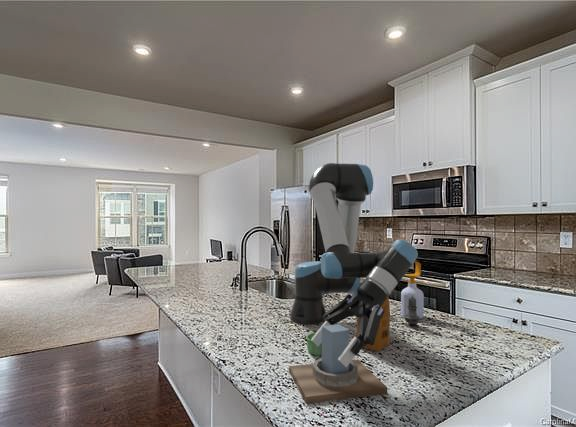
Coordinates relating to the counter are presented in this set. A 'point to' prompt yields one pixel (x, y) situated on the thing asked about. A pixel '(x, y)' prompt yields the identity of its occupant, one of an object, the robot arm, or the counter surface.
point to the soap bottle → (415, 292)
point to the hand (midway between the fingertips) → (327, 352)
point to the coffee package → (381, 329)
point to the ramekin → (313, 346)
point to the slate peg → (334, 348)
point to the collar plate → (334, 392)
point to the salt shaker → (412, 314)
